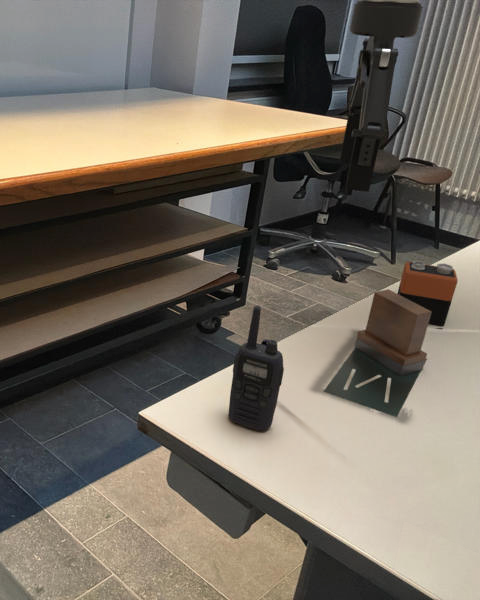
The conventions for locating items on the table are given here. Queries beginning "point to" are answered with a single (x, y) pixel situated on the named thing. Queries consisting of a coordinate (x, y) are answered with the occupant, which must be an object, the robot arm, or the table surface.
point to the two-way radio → (255, 380)
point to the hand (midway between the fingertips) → (352, 175)
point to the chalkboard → (371, 384)
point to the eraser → (395, 333)
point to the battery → (429, 288)
